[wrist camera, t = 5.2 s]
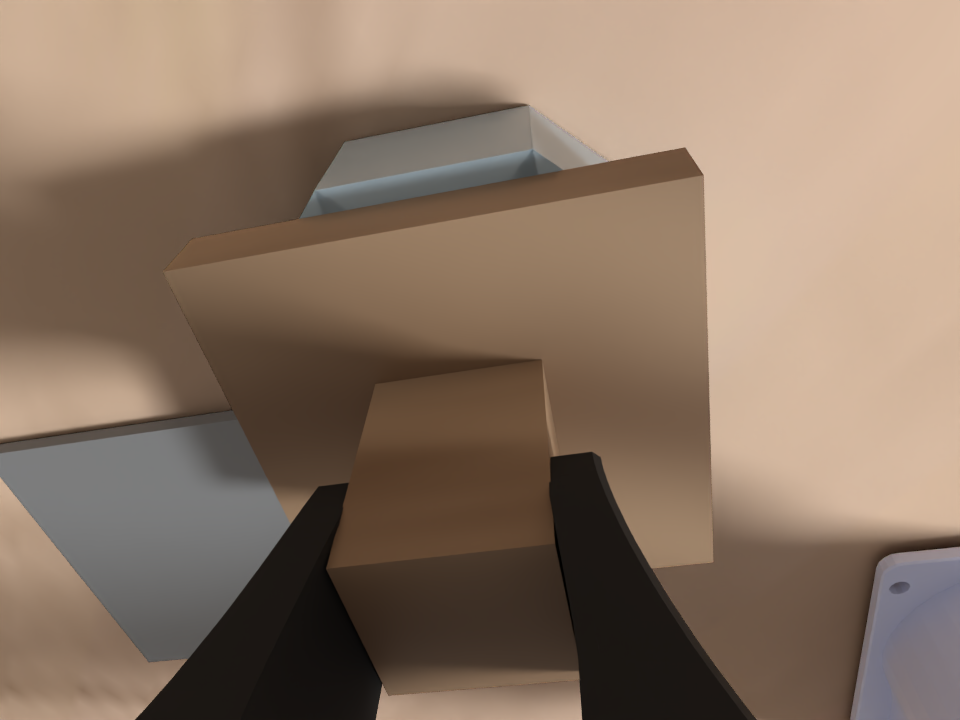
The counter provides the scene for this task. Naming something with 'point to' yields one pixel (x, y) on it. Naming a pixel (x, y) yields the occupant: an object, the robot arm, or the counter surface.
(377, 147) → the bowl
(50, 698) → the counter surface
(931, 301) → the counter surface
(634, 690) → the robot arm
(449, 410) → the lid
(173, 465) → the mat
